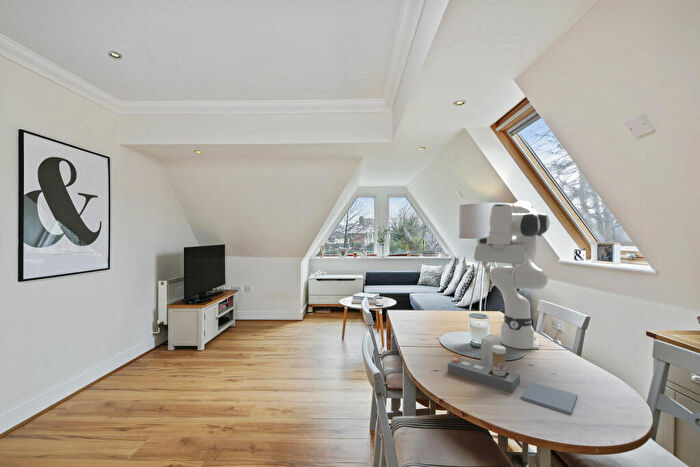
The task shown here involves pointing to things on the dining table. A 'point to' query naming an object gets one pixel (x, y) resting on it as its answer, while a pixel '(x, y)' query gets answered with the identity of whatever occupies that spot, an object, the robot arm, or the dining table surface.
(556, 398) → the rubber mat
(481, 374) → the power strip
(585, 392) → the dining table surface
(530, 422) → the dining table surface
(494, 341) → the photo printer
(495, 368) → the sprinkles bottle
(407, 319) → the dining table surface
